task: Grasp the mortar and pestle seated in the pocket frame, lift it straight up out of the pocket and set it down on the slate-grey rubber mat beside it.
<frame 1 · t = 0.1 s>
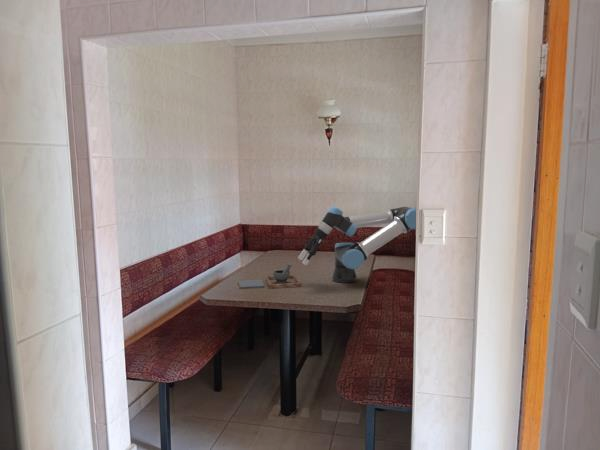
hand: (301, 261, 263), 15 cm above the table, tool tilted 35°, fingers open, 13 cm apart
rubber mat: (250, 284, 273), on the table
pocket frame: (282, 282, 277), on the table
mortar and pestle: (282, 283, 277), resting in pocket frame
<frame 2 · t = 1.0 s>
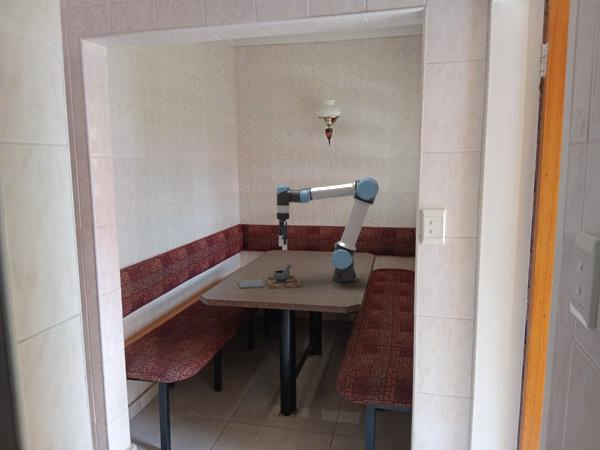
hand: (282, 248, 274), 21 cm above the table, tool pointing down, fingers open, 13 cm apart
nothing on the table moved.
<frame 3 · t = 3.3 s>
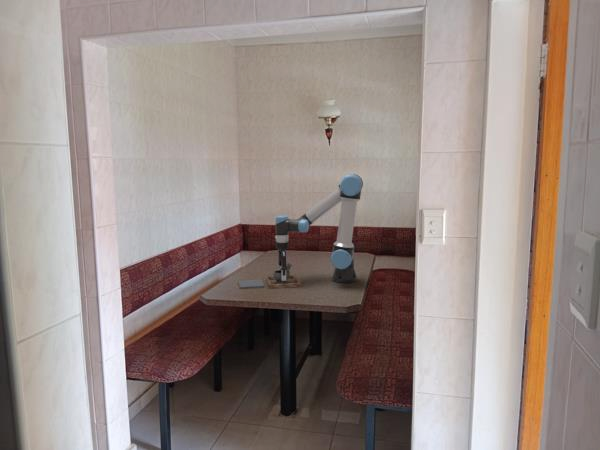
hand: (282, 278, 276), 3 cm above the table, tool pointing down, fingers closed on mortar and pestle, 10 cm apart
mortar and pestle: (282, 283, 277), resting in pocket frame, touching gripper
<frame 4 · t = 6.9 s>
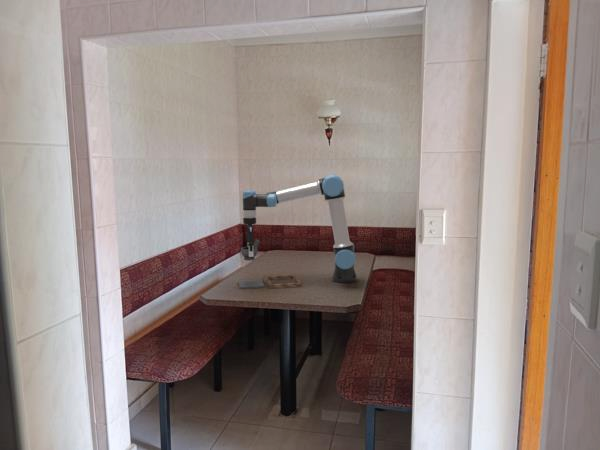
hand: (250, 255, 271), 18 cm above the table, tool pointing down, fingers closed on mortar and pestle, 10 cm apart
mortar and pestle: (250, 259, 271), point 15 cm above the table, touching gripper
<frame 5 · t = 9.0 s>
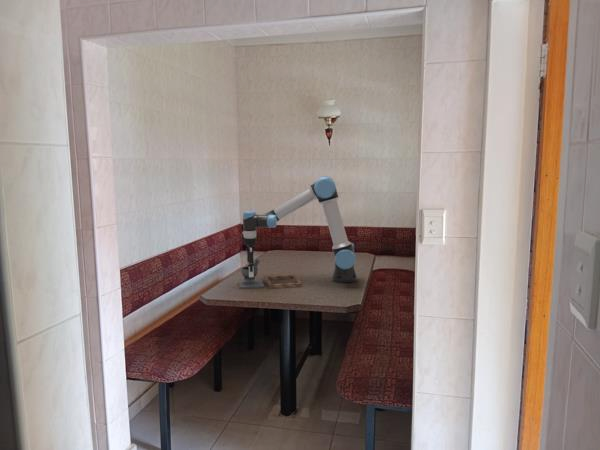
hand: (250, 275, 273), 6 cm above the table, tool pointing down, fingers closed on mortar and pestle, 10 cm apart
mortar and pestle: (250, 279, 273), point 3 cm above the table, touching gripper
when the fingers open (4 cm above the table, at t = 10.5 s): mortar and pestle stays where it is, resting on rubber mat.
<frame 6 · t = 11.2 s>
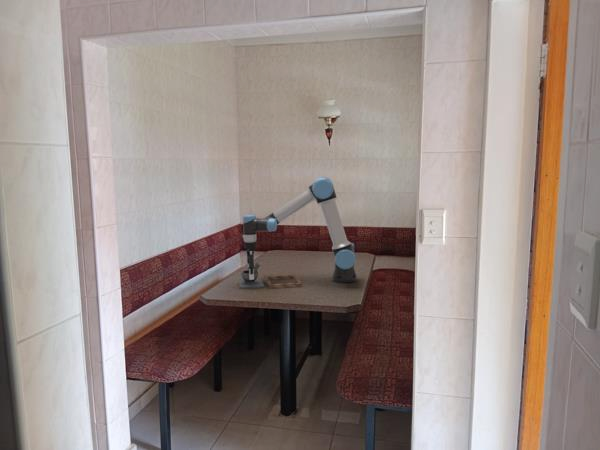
hand: (250, 276, 273), 5 cm above the table, tool pointing down, fingers open, 13 cm apart
mortar and pestle: (251, 283, 273), point 1 cm above the table, touching rubber mat
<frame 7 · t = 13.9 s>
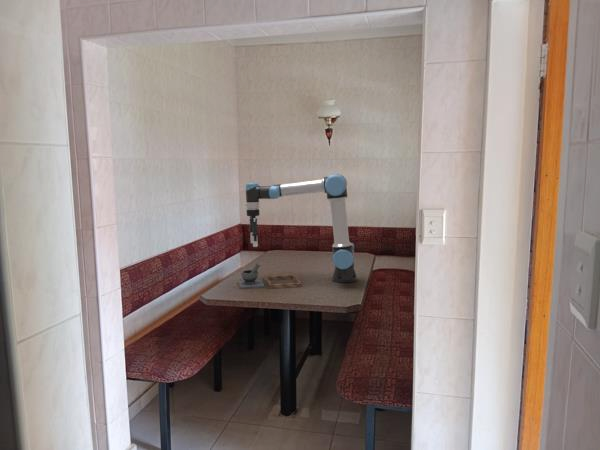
hand: (254, 244, 274), 23 cm above the table, tool pointing down, fingers open, 13 cm apart
nothing on the table moved.
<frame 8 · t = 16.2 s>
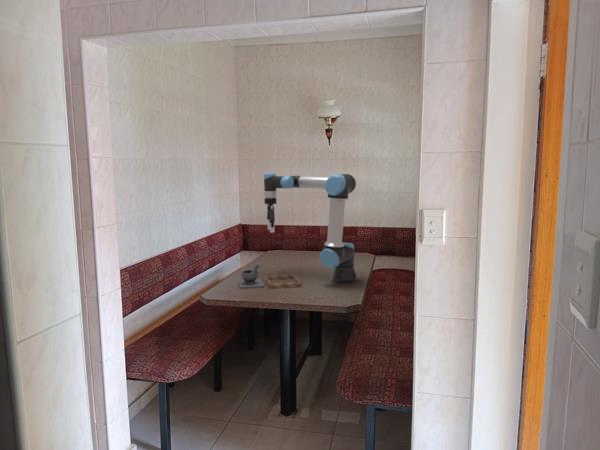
hand: (271, 231, 293), 29 cm above the table, tool pointing down, fingers open, 13 cm apart
nothing on the table moved.
at the end: mortar and pestle inside the target area on the rubber mat (0.2 cm from its centre), point 0.8 cm above the rubber mat's base; mortar and pestle tilted 0°; the gripper is holding nothing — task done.
